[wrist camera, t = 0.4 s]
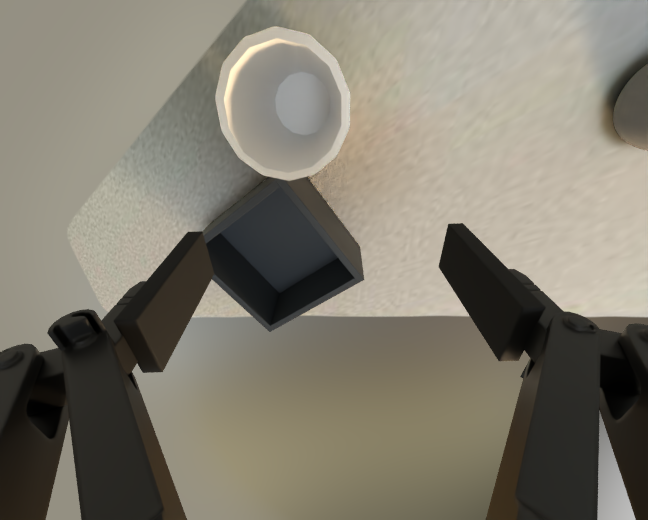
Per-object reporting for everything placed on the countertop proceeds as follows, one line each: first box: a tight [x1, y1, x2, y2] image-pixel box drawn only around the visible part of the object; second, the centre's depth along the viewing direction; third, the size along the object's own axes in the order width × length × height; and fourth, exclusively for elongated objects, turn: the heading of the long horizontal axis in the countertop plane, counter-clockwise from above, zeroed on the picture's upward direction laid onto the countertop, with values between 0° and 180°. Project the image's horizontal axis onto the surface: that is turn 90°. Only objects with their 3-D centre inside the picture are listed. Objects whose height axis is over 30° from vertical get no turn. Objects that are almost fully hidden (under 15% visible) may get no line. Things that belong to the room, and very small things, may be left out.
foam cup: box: [215, 26, 350, 181], centre depth 26 cm, size 10×9×13 cm
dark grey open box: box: [203, 177, 364, 332], centre depth 36 cm, size 15×15×8 cm
